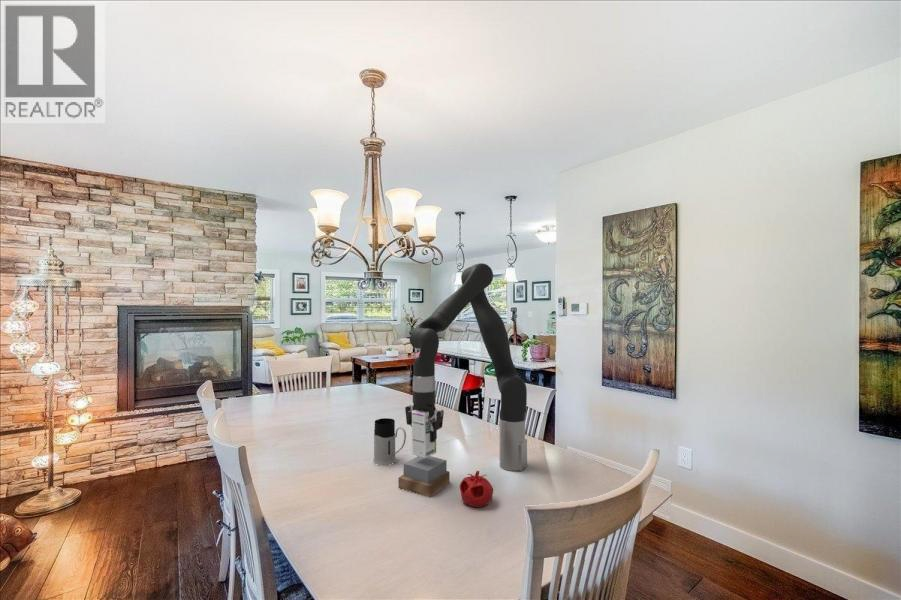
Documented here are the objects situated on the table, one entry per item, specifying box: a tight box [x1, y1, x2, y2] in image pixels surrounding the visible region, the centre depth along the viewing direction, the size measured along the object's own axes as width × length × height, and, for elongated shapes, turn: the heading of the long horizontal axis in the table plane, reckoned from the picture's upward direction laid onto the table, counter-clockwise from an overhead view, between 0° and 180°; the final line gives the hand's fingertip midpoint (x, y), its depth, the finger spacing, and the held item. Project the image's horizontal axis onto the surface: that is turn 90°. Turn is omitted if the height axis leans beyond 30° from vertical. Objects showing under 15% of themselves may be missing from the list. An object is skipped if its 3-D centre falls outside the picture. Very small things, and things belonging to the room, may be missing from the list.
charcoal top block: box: [403, 455, 448, 484], centre depth 131 cm, size 10×10×4 cm
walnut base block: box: [398, 470, 451, 498], centre depth 131 cm, size 12×12×4 cm
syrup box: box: [411, 410, 437, 458], centre depth 131 cm, size 6×6×14 cm
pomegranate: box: [459, 470, 494, 508], centre depth 120 cm, size 10×10×9 cm
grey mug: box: [372, 417, 407, 466], centre depth 150 cm, size 9×14×15 cm, turn 59°
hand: (424, 439), depth 131 cm, fingers closed on syrup box, 6 cm apart
